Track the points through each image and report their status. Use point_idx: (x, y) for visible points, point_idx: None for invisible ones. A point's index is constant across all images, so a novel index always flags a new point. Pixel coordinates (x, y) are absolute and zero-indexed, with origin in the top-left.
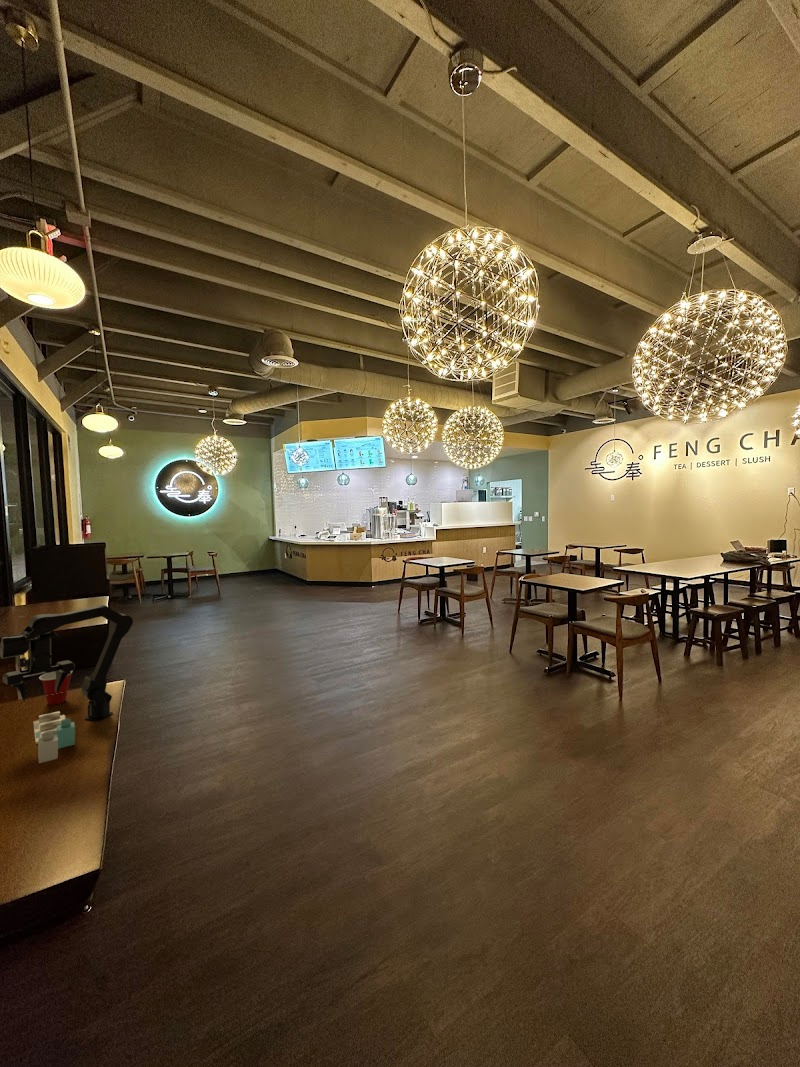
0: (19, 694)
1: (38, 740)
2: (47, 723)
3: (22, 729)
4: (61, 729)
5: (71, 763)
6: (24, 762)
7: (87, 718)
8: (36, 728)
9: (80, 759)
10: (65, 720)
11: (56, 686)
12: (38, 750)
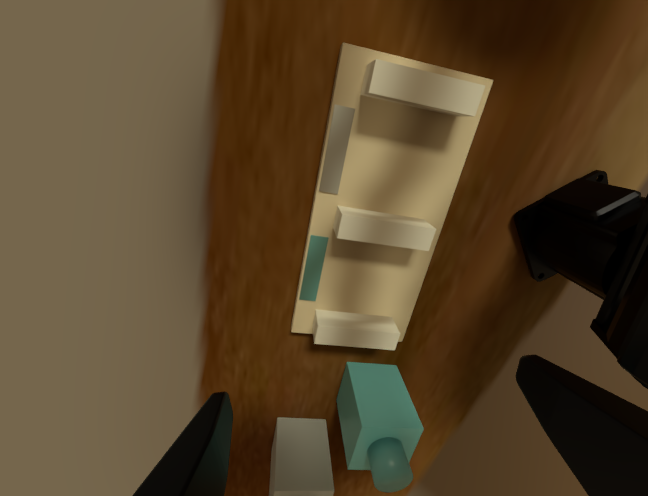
0: (157, 475)
1: (274, 484)
2: (368, 241)
3: (278, 96)
4: (360, 467)
5: (334, 489)
6: (239, 424)
7: (521, 231)
8: (327, 186)
9: (357, 483)
10: (390, 481)
11: (576, 441)
12: (275, 449)
